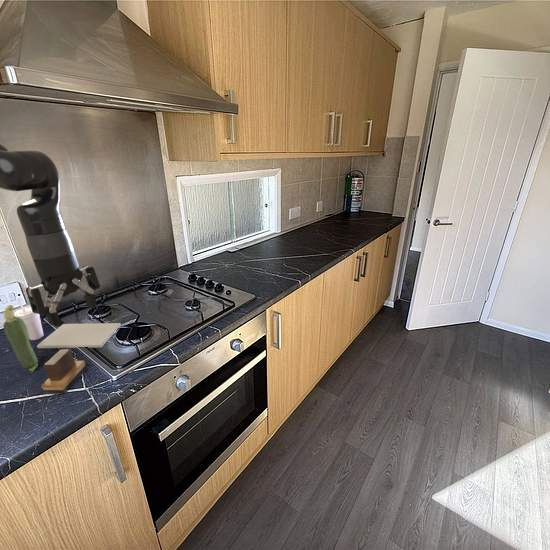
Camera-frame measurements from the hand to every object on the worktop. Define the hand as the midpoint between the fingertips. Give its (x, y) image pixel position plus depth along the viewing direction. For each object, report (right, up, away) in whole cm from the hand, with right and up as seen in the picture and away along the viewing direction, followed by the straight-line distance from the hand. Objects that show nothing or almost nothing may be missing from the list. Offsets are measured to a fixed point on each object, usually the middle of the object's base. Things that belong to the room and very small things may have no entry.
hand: (75, 316), depth 69 cm
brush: (-7, -18, +7) cm, 20 cm away
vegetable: (-20, -16, +12) cm, 28 cm away
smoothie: (-30, -11, +26) cm, 41 cm away
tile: (-15, -10, +25) cm, 31 cm away
